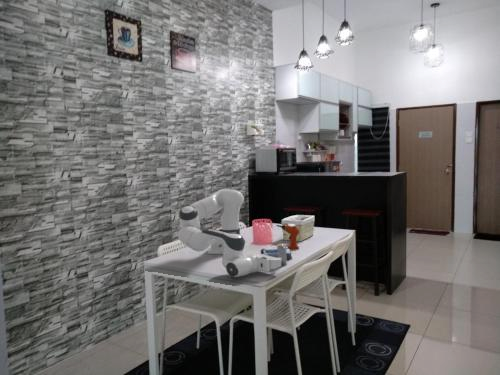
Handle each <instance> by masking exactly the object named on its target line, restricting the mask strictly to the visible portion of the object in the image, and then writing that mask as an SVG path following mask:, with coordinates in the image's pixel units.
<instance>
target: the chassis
mask: <svg viewBox="0 0 500 375" xmlns="http://www.w3.org/2000/svg"><path fill="white" fill-rule="evenodd" d="M260 254H269V256H271V257H276V258H278V255H277V248H271V249H269V248H268V249H266V248H261V249H260ZM286 258H287V261H288V260H292V259H293V255H292V252H291V249H288V247H286Z"/></svg>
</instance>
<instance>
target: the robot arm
mask: <svg viewBox="0 0 500 375" xmlns="http://www.w3.org/2000/svg"><path fill="white" fill-rule="evenodd" d="M244 200H245V197H244V195H243V193H242V192H240V191H239V190H236V189H231V188H230V189H229V188H223V189H222V188H221V189H219V190H217V191H216V192H215V193H213V194H211V195H209V196H207V197H204V198H202V199H200V200H197V201H195V202H193V203H192V204H190V205H185V206H183V207H181V209H180V210H179V213H178V217H179V225H180V229H179V231H178V233H177V237H178V240H179V241H180V243H182V244H183V245H184V246H186V247H187V248H189V249H191V250H193V251H196V252H203V251H206V254H208V255H222V259H221V263H222V265H223V267H224V268H225V269H226V272H227V274H228V275H229V276H230V277H232V278H238V277H244V276H247V275H249V274H253V273H257V272H258V273H259V272H267V273H269V272H270V270H274V269H275V270H276V269H277V268H280V267H282V266H281V260H282V257H278V258H276V257H271V256H269V254H261V253H258V252H252V253H250V254H247V255H245V256H243V255H244V254H243V253H244V249H245V244H246V240H245V238H244V236H243V235H241V228H240V218H239V217H240V211H241V210H240V209H241V207H242V205H243V203H244V202H245V201H244ZM221 209H223V213H222V215H221V217H220V220H221V221H220V222H221V228H218V229H215V228H212V227H211V228H204V229H203V230H201V221H200V220H203V219H206V218H209V217H210V216H214V215H215V214H217V213H218V212H219V211H220V210H221Z"/></svg>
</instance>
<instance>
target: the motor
mask: <svg viewBox="0 0 500 375" xmlns="http://www.w3.org/2000/svg"><path fill="white" fill-rule="evenodd" d="M286 248H287V246H286V245H285V244H283V243H280V244H278V246H277V247H276V249H277V255H278V257H282V260H281V266H280V267H286V266H287V264H288V263H287V262H288V260H287V258H286Z"/></svg>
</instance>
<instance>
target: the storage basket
mask: <svg viewBox="0 0 500 375" xmlns="http://www.w3.org/2000/svg"><path fill="white" fill-rule="evenodd" d="M315 221H316V220H315V215H307V214H305V215H304V214H296V215H291V216H288V217H285V218H283V219H281V226H283V225H284V226H295V227H297V228H298V229H299V234H298V235H297V237H296V242H303V241H305V240H307V239H309V238H311V237H313V236H314V230H315V228H314V227H315ZM290 235H291V234H289V233H288V232H286V231H285V230H284V229H282V239H283V240H284V241H290V239H289V237H290Z"/></svg>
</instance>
